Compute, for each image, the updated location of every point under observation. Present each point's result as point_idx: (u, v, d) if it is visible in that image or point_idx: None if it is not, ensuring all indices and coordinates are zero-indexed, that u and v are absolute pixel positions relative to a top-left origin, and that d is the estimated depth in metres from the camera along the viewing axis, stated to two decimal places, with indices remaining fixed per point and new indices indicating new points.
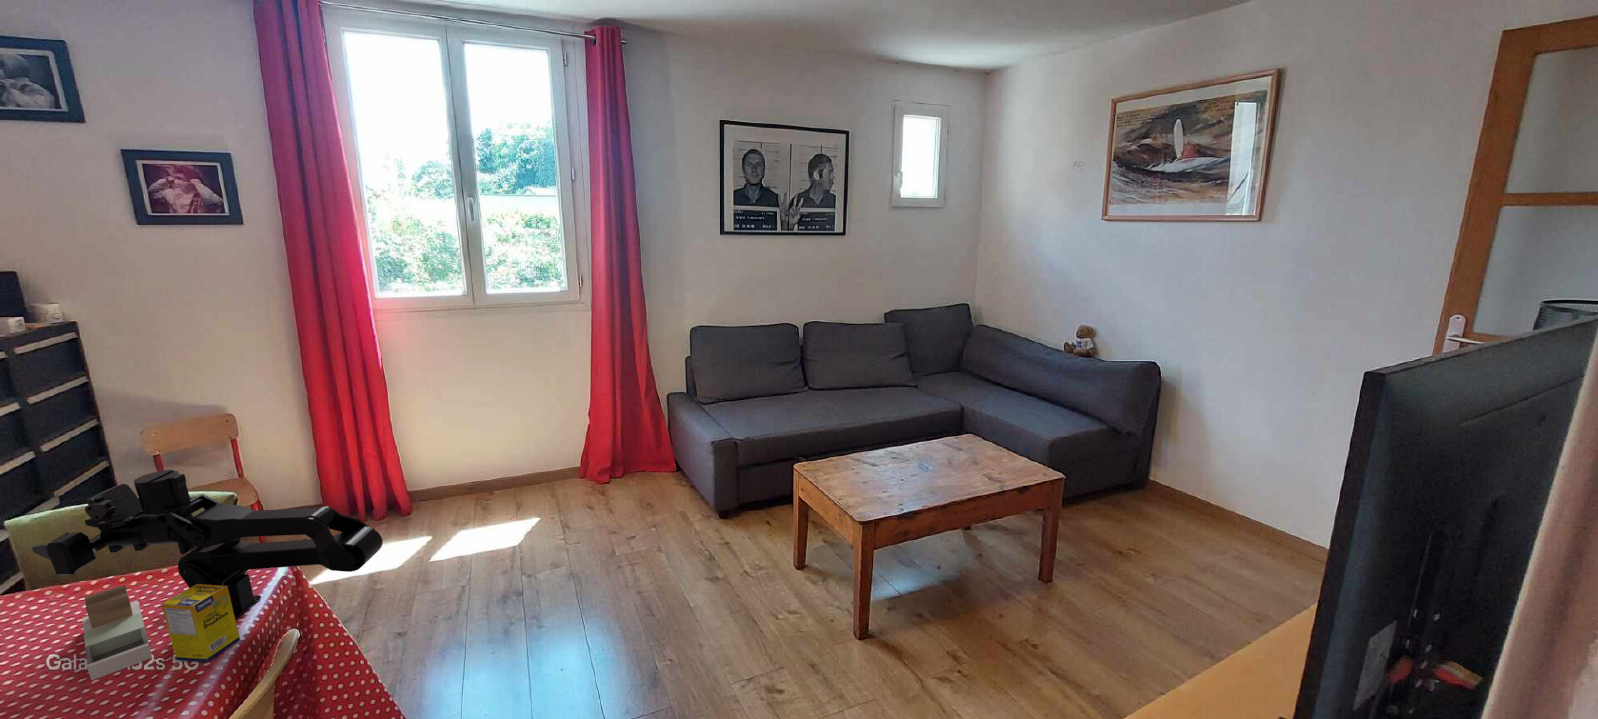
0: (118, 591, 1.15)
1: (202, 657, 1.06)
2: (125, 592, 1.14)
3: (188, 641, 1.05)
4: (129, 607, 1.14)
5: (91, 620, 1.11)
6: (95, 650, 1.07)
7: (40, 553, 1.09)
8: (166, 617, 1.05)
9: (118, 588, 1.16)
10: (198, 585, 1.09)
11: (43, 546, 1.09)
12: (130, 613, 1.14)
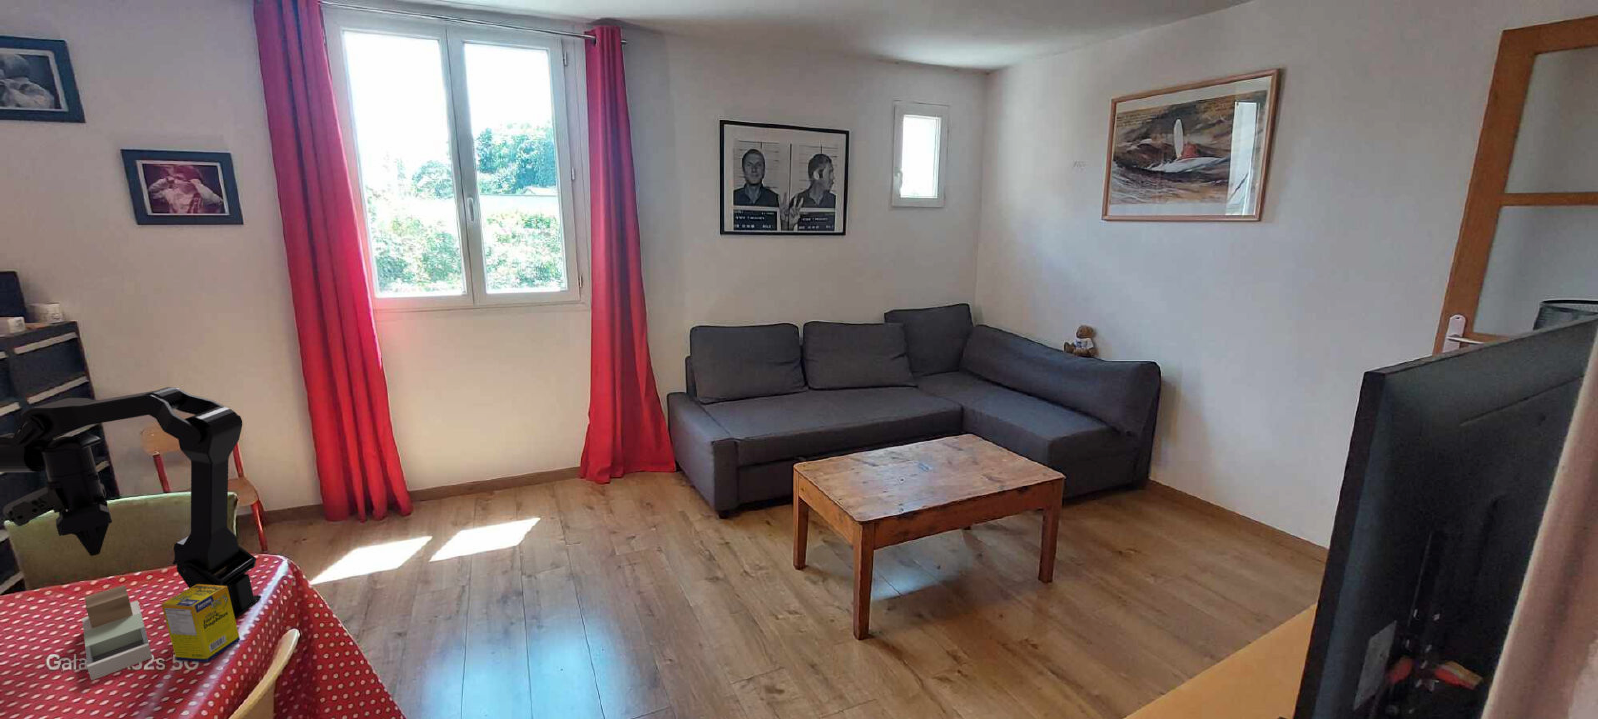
0: (118, 591, 1.15)
1: (202, 657, 1.06)
2: (125, 592, 1.14)
3: (188, 641, 1.05)
4: (129, 607, 1.14)
5: (91, 620, 1.11)
6: (95, 650, 1.07)
7: (96, 546, 1.14)
8: (166, 617, 1.05)
9: (118, 588, 1.16)
10: (198, 585, 1.09)
11: (84, 544, 1.13)
12: (130, 613, 1.14)
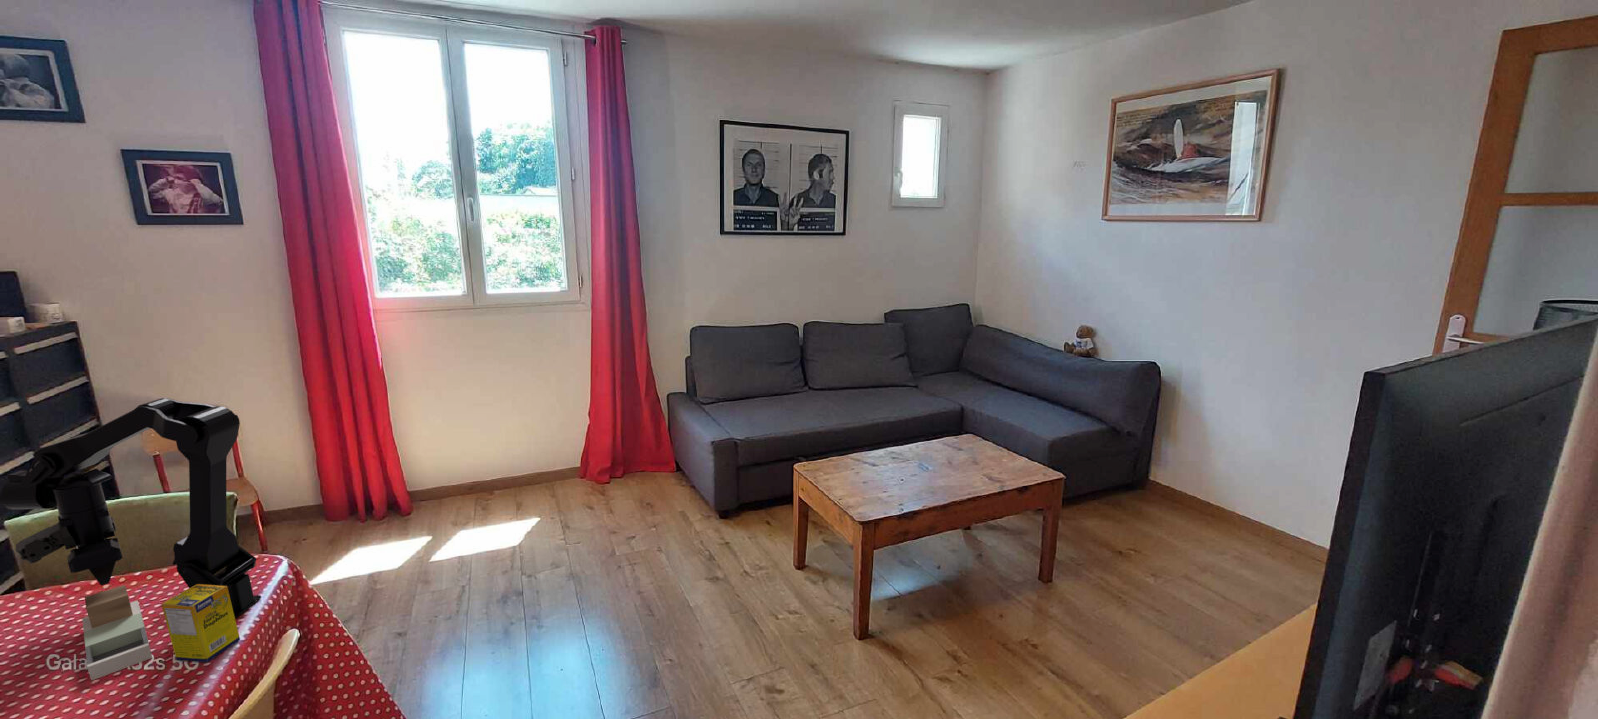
0: (118, 591, 1.15)
1: (202, 657, 1.06)
2: (125, 592, 1.14)
3: (188, 641, 1.05)
4: (129, 607, 1.14)
5: (91, 620, 1.11)
6: (95, 650, 1.07)
7: (106, 576, 1.17)
8: (166, 617, 1.05)
9: (118, 588, 1.16)
10: (198, 585, 1.09)
11: (94, 574, 1.16)
12: (130, 613, 1.14)
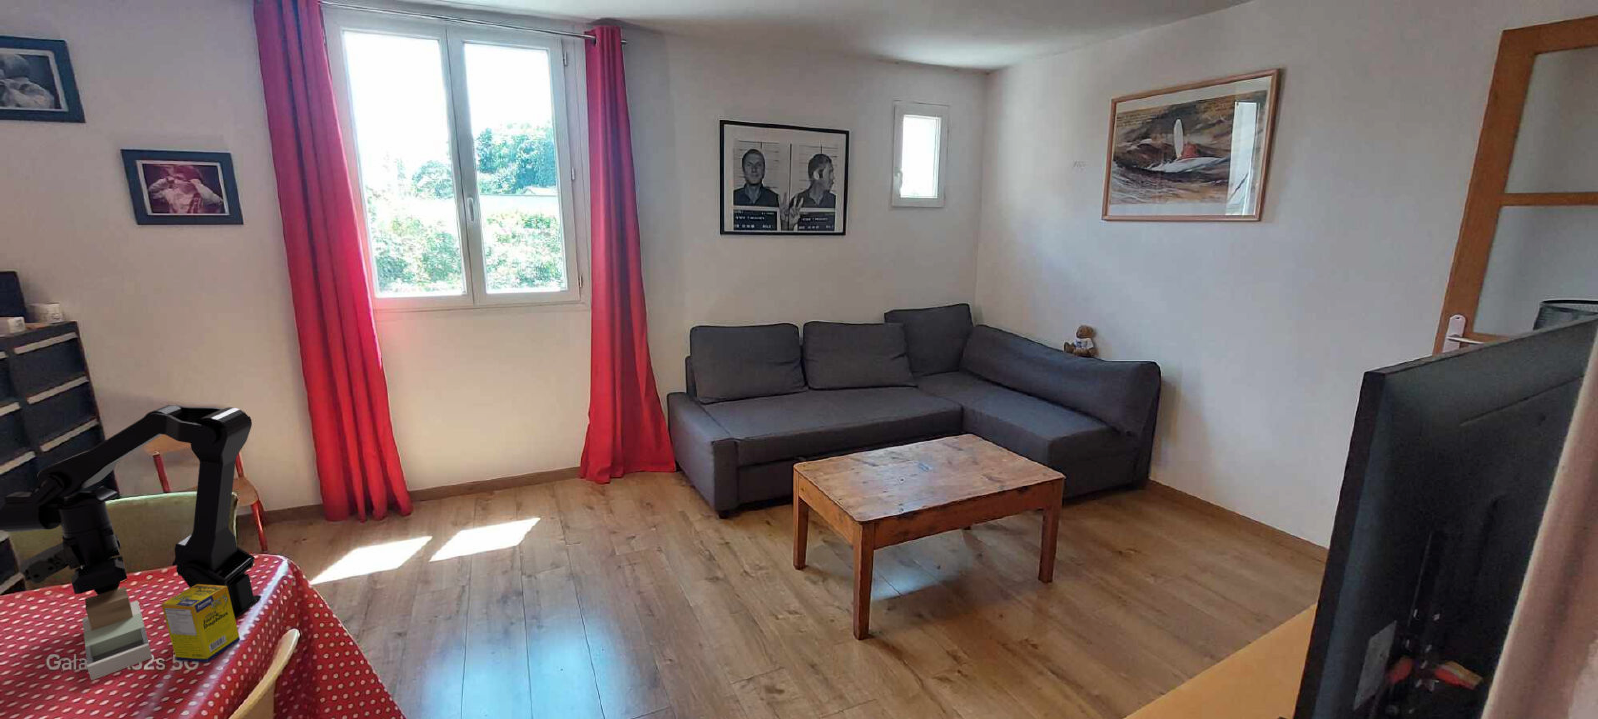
0: (118, 592, 1.14)
1: (202, 657, 1.06)
2: (125, 594, 1.14)
3: (188, 641, 1.05)
4: (129, 609, 1.13)
5: (91, 622, 1.10)
6: (95, 650, 1.07)
7: None
8: (166, 617, 1.05)
9: (118, 590, 1.15)
10: (198, 585, 1.09)
11: (98, 594, 1.14)
12: (130, 615, 1.14)
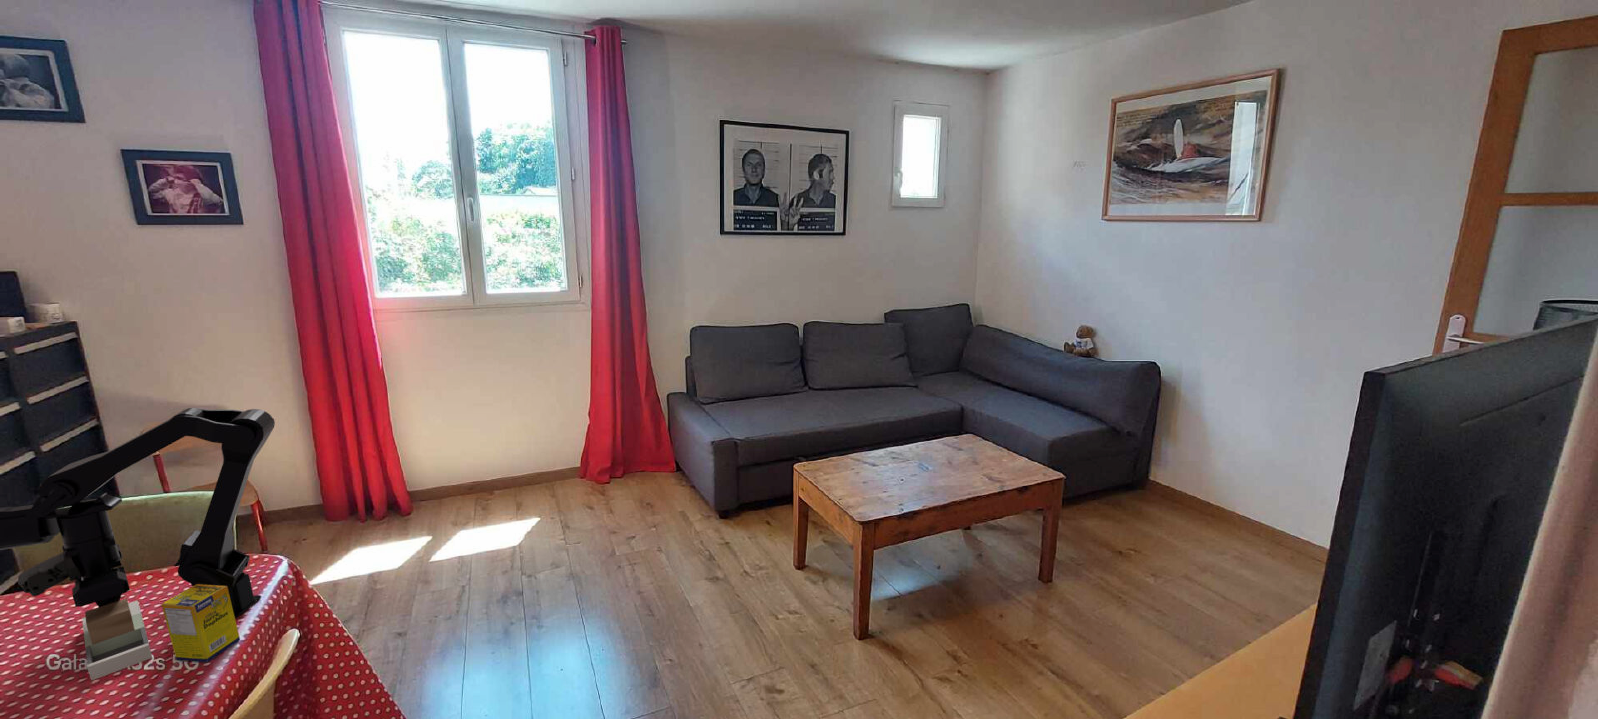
0: (119, 605, 1.11)
1: (202, 657, 1.06)
2: (127, 606, 1.10)
3: (188, 641, 1.05)
4: (131, 622, 1.10)
5: (91, 636, 1.07)
6: (95, 650, 1.07)
7: None
8: (166, 617, 1.05)
9: (119, 602, 1.12)
10: (198, 585, 1.09)
11: (99, 606, 1.11)
12: (132, 628, 1.10)
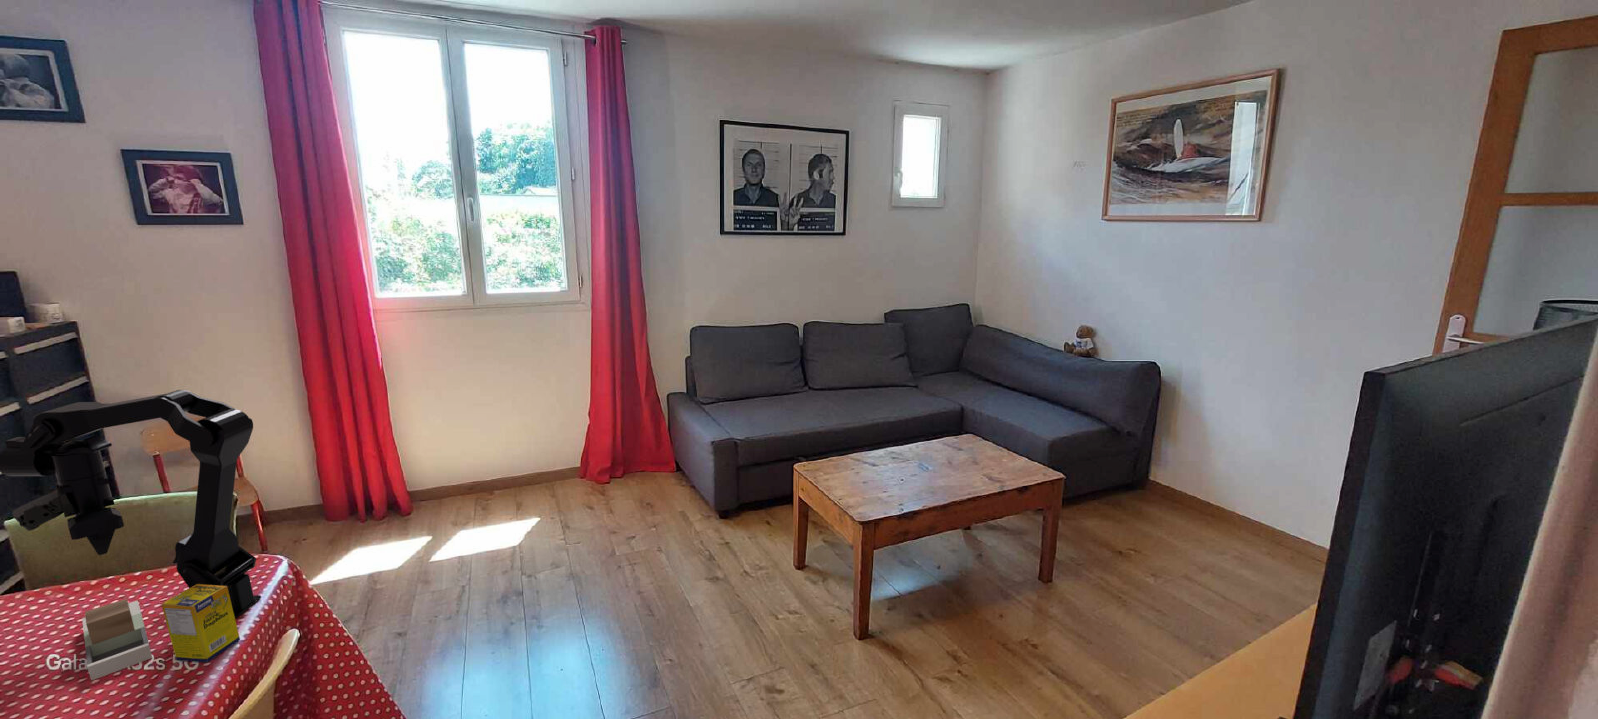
0: (119, 605, 1.11)
1: (202, 657, 1.06)
2: (127, 607, 1.10)
3: (188, 641, 1.05)
4: (131, 622, 1.10)
5: (91, 636, 1.06)
6: (95, 650, 1.07)
7: (104, 546, 1.16)
8: (166, 617, 1.05)
9: (119, 602, 1.11)
10: (198, 585, 1.09)
11: (92, 543, 1.14)
12: (132, 628, 1.10)
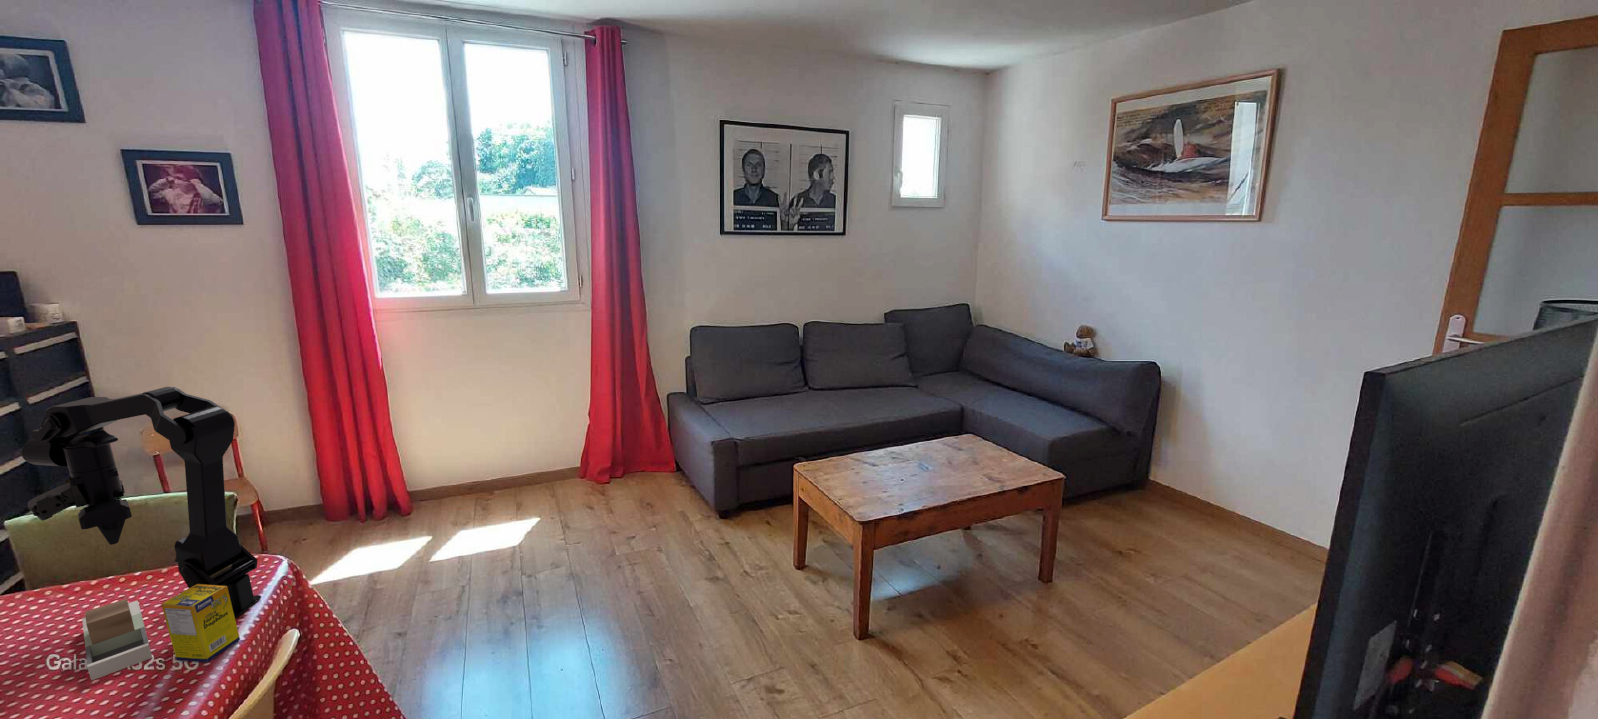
0: (119, 605, 1.11)
1: (202, 657, 1.06)
2: (127, 607, 1.10)
3: (188, 641, 1.05)
4: (131, 622, 1.10)
5: (91, 636, 1.06)
6: (95, 650, 1.07)
7: (115, 536, 1.20)
8: (166, 617, 1.05)
9: (119, 602, 1.11)
10: (198, 585, 1.09)
11: (103, 533, 1.18)
12: (132, 628, 1.10)
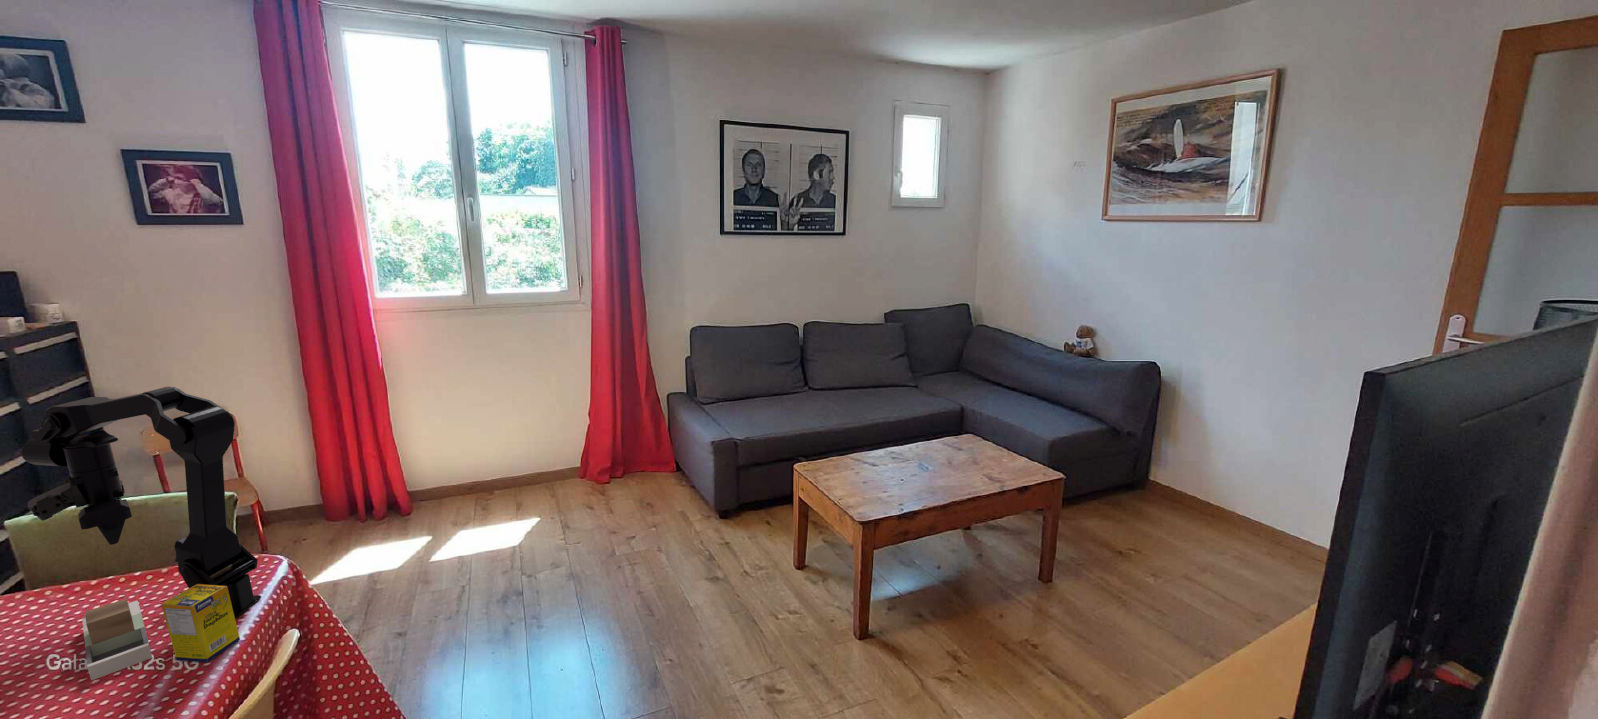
0: (119, 605, 1.11)
1: (202, 657, 1.06)
2: (127, 607, 1.10)
3: (188, 641, 1.05)
4: (131, 622, 1.10)
5: (91, 636, 1.06)
6: (95, 650, 1.07)
7: (115, 536, 1.20)
8: (166, 617, 1.05)
9: (119, 602, 1.11)
10: (198, 585, 1.09)
11: (103, 533, 1.18)
12: (132, 628, 1.10)
